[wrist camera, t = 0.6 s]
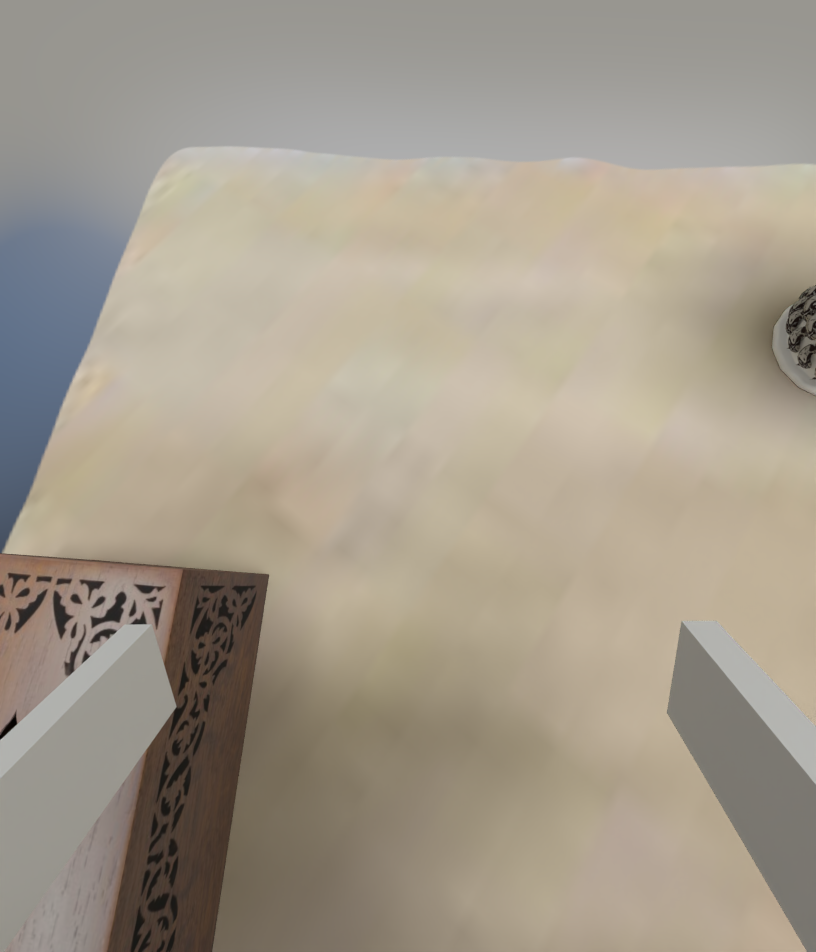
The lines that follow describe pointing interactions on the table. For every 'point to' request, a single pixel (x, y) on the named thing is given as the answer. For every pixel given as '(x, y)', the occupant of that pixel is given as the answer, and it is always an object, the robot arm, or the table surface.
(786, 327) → the decorative candle
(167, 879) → the tissue box cover
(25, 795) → the robot arm
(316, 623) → the table surface
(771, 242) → the table surface
